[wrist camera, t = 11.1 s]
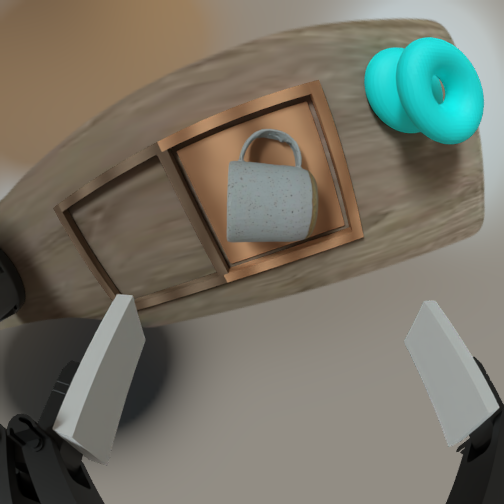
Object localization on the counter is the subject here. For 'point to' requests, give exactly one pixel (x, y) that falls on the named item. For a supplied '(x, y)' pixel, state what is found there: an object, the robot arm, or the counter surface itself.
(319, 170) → the tray
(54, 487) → the robot arm
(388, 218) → the counter surface
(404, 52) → the donuts
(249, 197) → the ceramic mug
